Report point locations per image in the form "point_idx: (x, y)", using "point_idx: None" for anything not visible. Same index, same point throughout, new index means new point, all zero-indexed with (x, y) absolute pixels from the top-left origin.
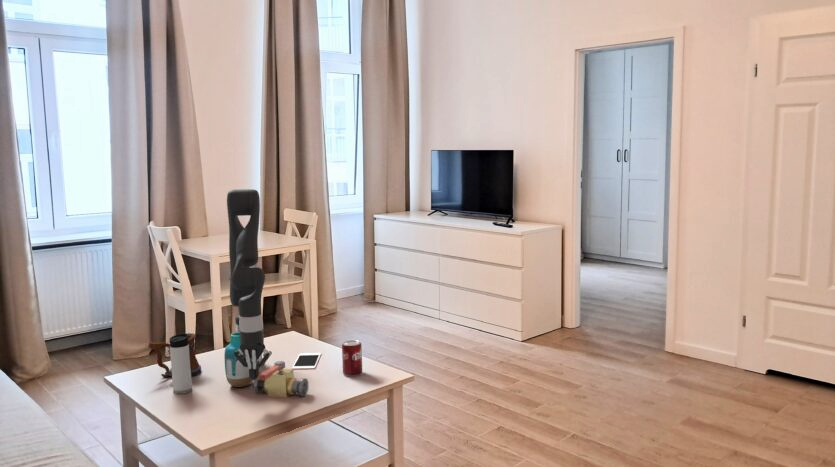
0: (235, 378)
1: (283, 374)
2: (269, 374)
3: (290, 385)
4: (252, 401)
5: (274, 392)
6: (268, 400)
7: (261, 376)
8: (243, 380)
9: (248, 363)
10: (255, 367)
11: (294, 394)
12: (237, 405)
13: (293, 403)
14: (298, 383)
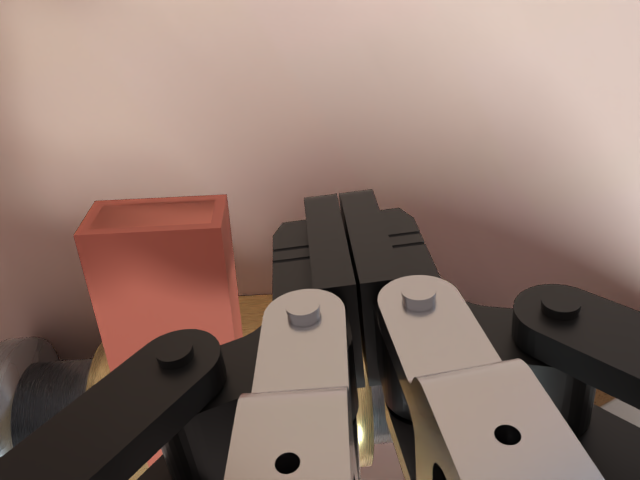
0: None
1: (140, 470)
2: (108, 331)
3: (89, 386)
4: (390, 170)
5: (256, 316)
6: (265, 224)
7: (162, 221)
8: (599, 390)
9: (468, 355)
10: (280, 318)
11: None
12: (485, 54)
13: (15, 226)
14: (32, 427)
